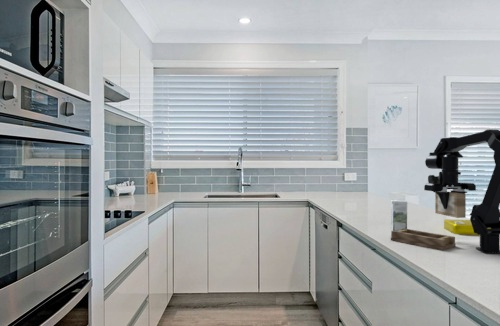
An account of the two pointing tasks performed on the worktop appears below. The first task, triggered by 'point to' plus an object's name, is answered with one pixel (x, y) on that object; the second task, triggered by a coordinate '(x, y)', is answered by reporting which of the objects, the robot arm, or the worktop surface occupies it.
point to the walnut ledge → (423, 239)
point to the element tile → (459, 227)
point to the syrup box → (398, 215)
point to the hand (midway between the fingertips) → (449, 208)
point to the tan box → (452, 205)
